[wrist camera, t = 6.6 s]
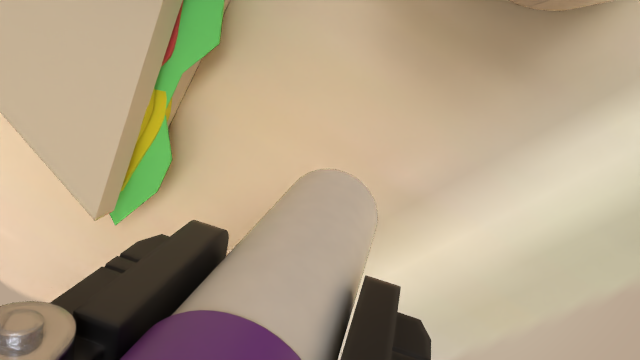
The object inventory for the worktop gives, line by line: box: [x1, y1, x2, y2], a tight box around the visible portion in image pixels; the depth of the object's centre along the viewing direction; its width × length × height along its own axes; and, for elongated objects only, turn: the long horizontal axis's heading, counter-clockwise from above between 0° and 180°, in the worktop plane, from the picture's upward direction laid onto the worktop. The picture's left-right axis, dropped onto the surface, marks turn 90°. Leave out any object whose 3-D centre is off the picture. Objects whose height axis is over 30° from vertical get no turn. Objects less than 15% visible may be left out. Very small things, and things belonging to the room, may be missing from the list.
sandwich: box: [0, 0, 230, 225], centre depth 25 cm, size 15×20×5 cm
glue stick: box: [120, 169, 378, 360], centre depth 10 cm, size 3×3×9 cm
